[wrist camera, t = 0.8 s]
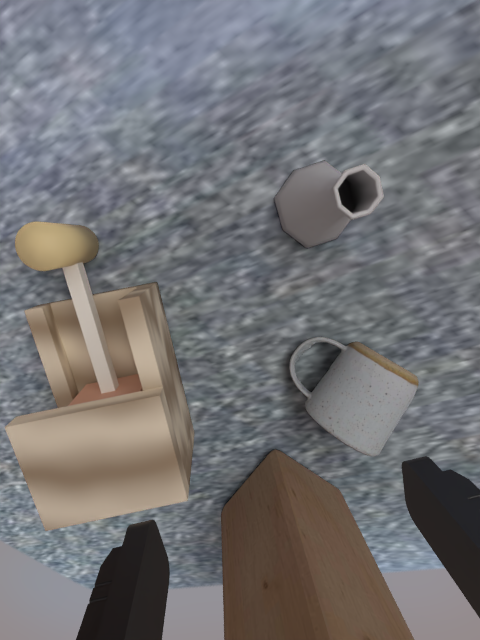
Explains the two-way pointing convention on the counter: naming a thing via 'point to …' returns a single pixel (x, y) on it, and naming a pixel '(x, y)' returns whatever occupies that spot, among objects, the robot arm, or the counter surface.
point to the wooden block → (300, 563)
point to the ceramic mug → (358, 395)
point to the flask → (326, 201)
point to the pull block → (76, 296)
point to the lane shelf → (106, 415)
